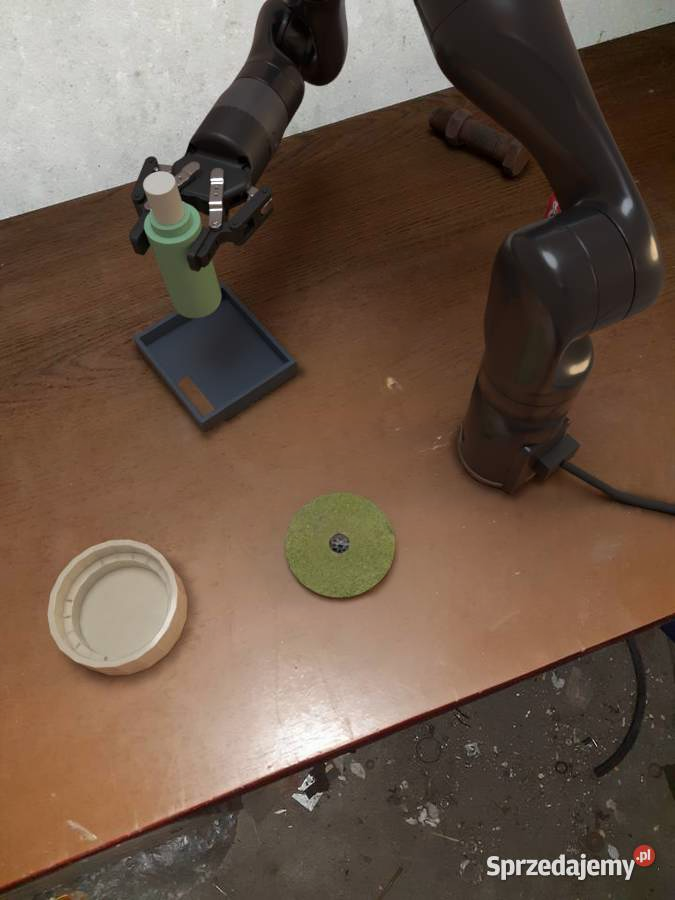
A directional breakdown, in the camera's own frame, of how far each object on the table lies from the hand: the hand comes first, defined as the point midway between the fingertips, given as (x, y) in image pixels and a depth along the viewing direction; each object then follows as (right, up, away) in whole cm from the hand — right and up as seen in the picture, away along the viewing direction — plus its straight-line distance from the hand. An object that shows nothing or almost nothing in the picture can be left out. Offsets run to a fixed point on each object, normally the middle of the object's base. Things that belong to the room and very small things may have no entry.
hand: (164, 256), depth 64 cm
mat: (+16, -28, +8) cm, 34 cm away
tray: (+2, -7, +19) cm, 21 cm away
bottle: (+1, -2, +9) cm, 10 cm away
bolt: (+36, +25, +35) cm, 56 cm away
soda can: (+45, +6, +25) cm, 52 cm away
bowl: (-5, -35, +6) cm, 35 cm away
